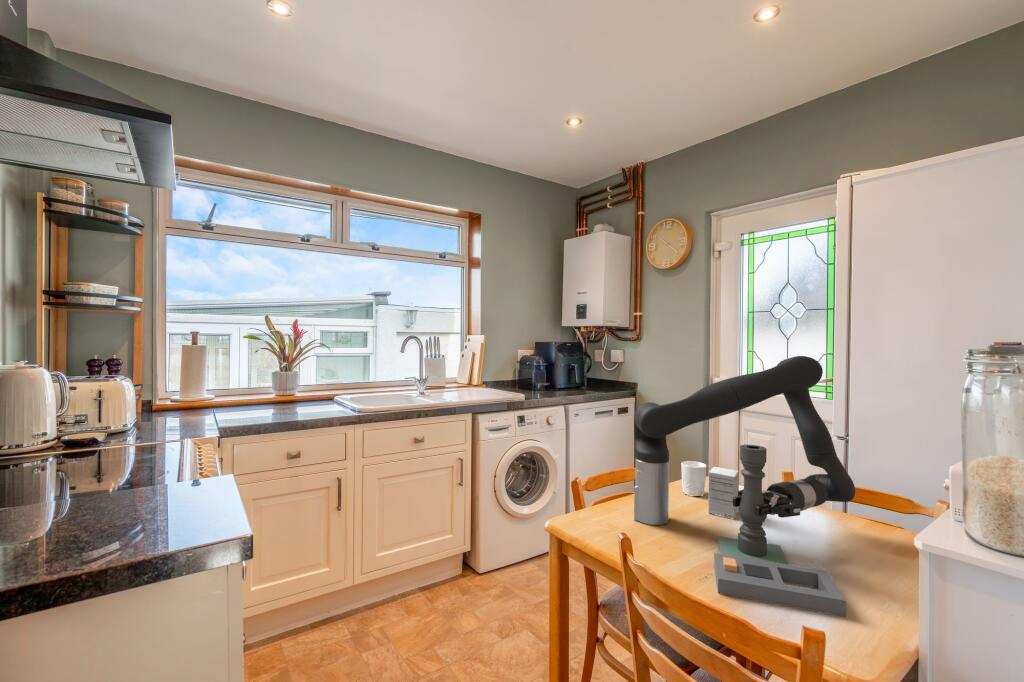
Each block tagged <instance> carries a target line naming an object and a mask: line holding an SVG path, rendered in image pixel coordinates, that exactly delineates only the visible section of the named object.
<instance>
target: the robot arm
mask: <svg viewBox="0 0 1024 682" xmlns="http://www.w3.org/2000/svg"><path fill="white" fill-rule="evenodd" d="M823 374H824V372H823V367H822V365H821V363H820V362H819V361H818V360H816V359H815V358H813V357H810V356H806V355H797V356H793V357H788V358H784V359H783V360H781V361H779V363H777V365H776V366H773V367H771V368H768V369H765V370H762V371H758V372H752V373H746V374H742V375H738V376H737V375H736V376H733V377H728V378H726V379H722V380H719V381H716V382H713V383H711V384H709V385H706V386H704V387H702V388H700V389H699V390H697V391H696V392H694V393H692V394H691V395H689V396H688V397H685V398H683V399H681V400H677V401H674V402H670V403H666V404H661V405H660V404H658V403H656V402H652V401H651V402H644V403H642V404H640V405H639V406H638V407H637V409H636V410H635V413H634V417H633V418H634V419H633V422H634V423H633V444H634V451H635V472H634V473H635V477H634V478H635V479H634V481H635V482H634V484H635V485H634V489H633V490H634V491H633V492H634V494H633V495H634V496H633V497H634V498H633V501H634V502H633V505H634V507H633V521H636V522H640V523H643V524H646V525H653V526H662V525H665V524H667V523H669V495H670V494H669V493H670V491H669V489H670V488H669V485H670V484H669V483H670V481H669V480H670V450H669V448H668V443H667V436H669V435H671V434H673V433H675V432H677V431H680V430H682V429H684V428H686V427H689V426H691V425H695V424H698V423H702V422H705V421H708V420H712V419H716V418H719V417H722V416H726V415H730V414H733V413H736V412H738V411H741V410H744V409H746V408H749V407H751V406H754V405H757V404H759V403H762V402H763V401H766V400H768V399H771V398H773V397H776V396H779V395H783V397H784V398H785V401H786V403H787V405H788V408H789V409H790V412H791V414H792V417H793V418H794V419H793V420H794V422H795V425H796V428H797V430H798V433H799V435H800V440H801V442H802V446H803V449H804V450H803V451H804V453H805V456H806V460H807V462H808V463H809V464H810V466H813V467H816V468H821V469H823V470H824V472H826V473H816V474H810V475H808V476H806V477H804V478H801V479H794V480H793V479H791V480H787V481H786V480H785V481H781V482H777V483H776V482H775V483H773V484H770V485H769V486H768V487H767V488H766V490H762V495H763V499H764V503H765V504H764V505H759V506H757V507H756V515H757V516H764V515H767V516H768V515H769V516H775V515H777V517H779V518H781V519H783V518H791V517H798V516H801V512H803V511H806V510H808V509H811V508H815V507H819V506H821V505H823V504H825V503H826V502H839V503H849V502H851V501H853V500H854V498H855V497H856V486H855V483H854V481H853V479H852V477H851V476H850V475H849V473H848V472H847V470H846V468H845V467H844V465H843V463H842V461H841V460H840V459H839V457H838V455H837V452H836V448H835V444H834V442H833V438H832V436H831V433H830V431H829V429H828V427H827V425H826V423H825V421H824V420H823V418H821V416H820V414H819V413H818V411H817V409H816V407H815V405H814V404H813V401H812V398H811V395H810V390H809V389H810V388H813V387H815V386H817V384H818V383H820V381H821V379H822V377H823ZM743 490H744V488H742V489H739V491H738V496H737V497H733V506H735V507H739V505H740V501H741V497H742V494H743Z"/></svg>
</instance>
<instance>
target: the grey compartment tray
mask: <svg viewBox="0 0 1024 682" xmlns="http://www.w3.org/2000/svg"><path fill="white" fill-rule="evenodd" d="M713 568H714V575H715V583H716V587H717V588H716V589H717V593H718V594H721V595H727V596H732V597H737V598H742V599H748V600H753V601H759V602H763V603H764V602H765V603H769V604H775V605H780V606H786V607H791V608H798V609H802V610H808V611H814V612H819V613H825V614H829V615H835V616H839V617H845V618H846V617H847V599H846V598H845V597H844V595H843V593H842V592H841V591H840V589H839V587H838V586H837V584H836V582H834V579H833V578H832V576H831V574H829V572H828V570H826V569H825V570H824V569H819V568H812V567H806V566H801V565H800V566H799V565H794V564H789V565H788V564H782V563H776V562H769V561H763V560H757V559H750V558H744V557H738V556H731V555H725V554H721V553H718V552H713ZM786 583H787V584H788V585H787V584H786ZM789 584H790V585H789ZM791 584H792V585H791ZM793 585H794V586H793ZM795 585H798V586H795ZM800 586H802V587H800ZM803 586H804V587H803ZM805 587H806V588H805ZM807 587H809V588H807ZM811 588H815V589H811ZM816 588H817V589H816Z"/></svg>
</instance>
